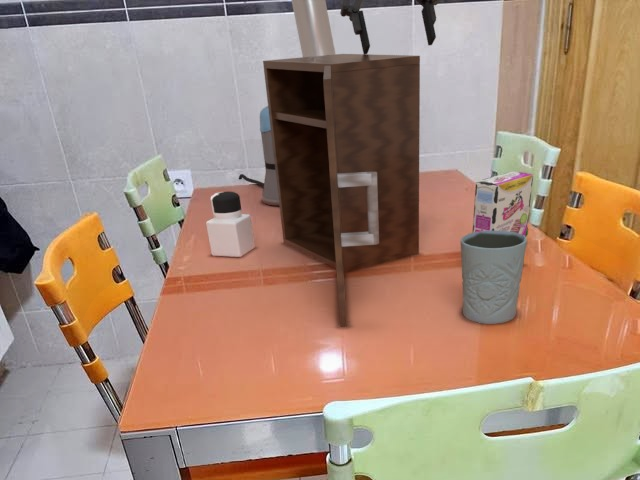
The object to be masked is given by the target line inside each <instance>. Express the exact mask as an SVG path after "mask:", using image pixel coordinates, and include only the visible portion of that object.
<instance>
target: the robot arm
mask: <svg viewBox="0 0 640 480" xmlns="http://www.w3.org/2000/svg"><path fill="white" fill-rule="evenodd" d="M350 1H351V0H342V4H341V8H340V12H339V13H340V16H341V17H343V18H344V17H349V18H348V19H349V21H350V22H351V24H352V28H353V32H354V34H355V35H356V36H358V35H359V38H360V39H359V40H360V43H361V48H362V52H363V53H362V54H368V52H369V51H370V48H371V42H370V39H369V33H368V28H367V25H366V19H365V15H364V9H363V10H361V8H362V6H363V4H364V2H365V0H355V1H354V2H353V4H352V5H351V4H350V3H351V2H350ZM415 1H416V2H417V3H418V4H419V5H420V6H421V7H422V9H421V15H422V17H421V18H422V22H423V25H424V31H425V32H424V33H425V36H426V41H427V46H429V47H430V46H433V44H434V42H435V40H436V38H437V35H436V31H435V23H436V22H437V14H436V10H435V6H438V4H439V1H440V0H415ZM291 6H292V10H293V14H294V20H295V25H296V30H297V35H298V41H299V46H300V50H301V54H302V57H312V56H324V55H335V54H336V50H335V43H334V38H333V33H332V27H331V23H330V17H329V13H328V8H327V2H326V0H291ZM259 132H260V134H261V143H262V151H263V160H264V166H265V174H264V181H263V182H262V181H259V180H256V179H253V178H249V177H247V176H246V175H245V174H244V173H241V174H240V175H239V176H238V180H244V181H246V182H248V183H252V184H254V185H258V186H260V187H262V188H263V190H262V192H261V198H262V203H264V204H265V205H267V206H274V207H275V206H276V207H280V206H279V197H278V188H277V180H276V171H275V162H274V153H273V145H272V136H271V127H270V118H269V109H268V105H266V106H265V107H263V108H262V109H261V110H260V113H259Z"/></svg>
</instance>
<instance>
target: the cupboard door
mask: <svg viewBox="0 0 640 480" xmlns="http://www.w3.org/2000/svg"><path fill="white" fill-rule="evenodd" d="M323 83H324V98H325V112H326V127H327V141H328V155H329V170H330V184H331V199H332V213H333V228H334V242H335V257H336V268H335V269H336V282H337V285H336V286H337V297H338V311H339V326H340V327H347V310H346V307H347V306H346V291H345V274H344V270H343V255H342V247H345V246H362V245H376V244H379V222H378V189H377V172H357V173H341V174H337V159H336V143H335V127H334V111H333V95H332V80H331V66H325V67H324V77H323ZM357 186H367V212H368V232H354V233H341V223H340V207H339V191H338V188H340V187H357Z"/></svg>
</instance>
